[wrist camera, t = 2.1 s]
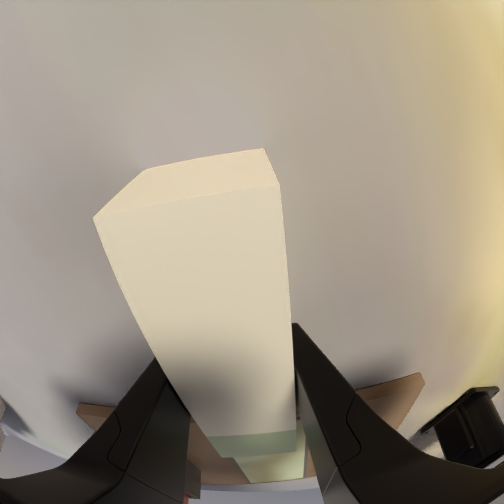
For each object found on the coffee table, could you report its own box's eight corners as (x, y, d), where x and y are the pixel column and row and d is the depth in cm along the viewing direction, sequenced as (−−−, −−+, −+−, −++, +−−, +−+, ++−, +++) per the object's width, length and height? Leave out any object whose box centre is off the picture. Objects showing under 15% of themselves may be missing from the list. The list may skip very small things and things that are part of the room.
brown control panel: (420, 372, 13) (442, 421, 10) (370, 456, 21) (377, 485, 18) (79, 402, 14) (65, 448, 11) (164, 475, 21) (162, 503, 18)
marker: (144, 169, 7) (92, 217, 4) (263, 148, 7) (279, 185, 4) (222, 399, 13) (221, 457, 10) (288, 392, 13) (296, 451, 10)
